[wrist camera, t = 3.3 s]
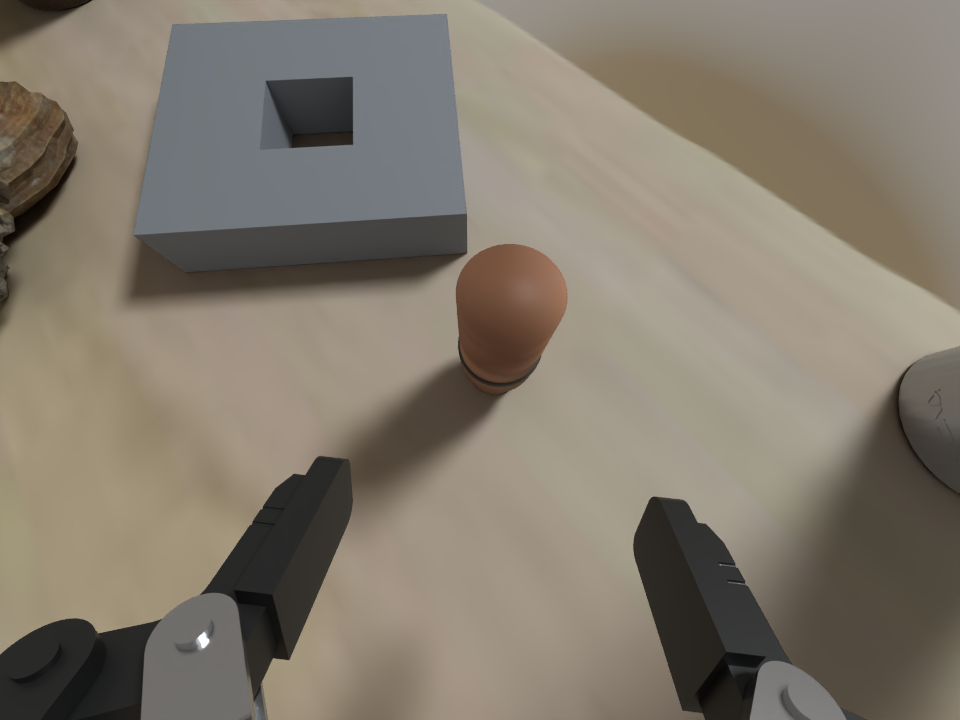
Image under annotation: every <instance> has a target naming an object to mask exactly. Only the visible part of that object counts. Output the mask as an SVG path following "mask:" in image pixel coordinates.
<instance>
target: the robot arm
mask: <svg viewBox="0 0 960 720" xmlns="http://www.w3.org/2000/svg"><path fill="white" fill-rule="evenodd" d="M899 412H900V418H901V421H902V425H903V428H904V431H905V434H906V436H907V438H908V440H909V442H910V444H911V446H912V447H913V449H914V451H915V452H916V453H917V455H918V456H919V458H920V459H921V460H922V462H923V463H924V464H925V466H926V467H927V468H928V469H929V470H930V471H931V472H932V473H933V474H934V475H935V476H936V477H937V478H938V479H939V480H941V481H942V482H943V483H945V484H946V485H947V486H949V487H950V488H951V489H953V490H954V491H955V492H957V493H959V494H960V346H959V347H955V348H951V349H947V350H944V351H940V352H937V353H934V354H931V355H927V356H925V357H923V358H922V359H920V360H919V361H917V362H916V363H914V364H913V365H912V367H911V368H910V369H909V370H908V371H907V373H906V374H905V376H904V379H903V381H902V383H901V386H900V393H899ZM352 503H353V498H352V485H351V473H350V463H349V460H348V459H341V458H333V457H324V456H319V457H317V458H316V459H315V461H314V462H313V464H312V465H311V467H310V469H309V470H308V472H307V473H306V475H298V474H293V475H292V476H291V477H289V478H288V479H287V480H286V481H284V482H283V483H282V484H280V485H279V486H278V487H276V488H275V490H274V491H273V493H272V494H271V495H270V497H269V498H268V500H267V501H266V503H265V504H264V506H263V509H262V510H260V511H259V513H258V514H257V516H256V517H255V519H254V520H253V523H252V525H250V526H249V527H248V529H247V530H246V532H245V533H244V535H243V536H242V537H241V539H240V540H239V542H238V543H237V545H236V546H235V548H234V549H233V550H232V552H231V553H230V555H229V556H228V558H227V559H226V561H225V562H224V564H223V565H222V566H221V568H220V569H219V571H218V572H217V574H216V575H215V577H214V578H213V579H212V581H211V582H210V584H209V585H208V586H207V588H206V589H205V590H204V591H203V592H202V593H201V594H200V595H199V596H196V597H193V598H191V599H189V600H187V601H185V602H183V603H182V604H180V605H178V606H177V607H176V608H174V609H173V610H172V611H170V612H169V613H168V614H167V615H166V616H165V617H164V618H163V619H161V620H158V621H155V622H151V623H146V624H142V625H137V626H132V627H127V628H122V629H118V630H113V631H108V632H103V633H97V631H96V630H95V628H94V627H93V625H92V624H91V623H89V622H88V621H86V620H83V619H65V620H60V621H57V622H53V623H50V624H48V625H45V626H43V627H41V628H39V629H37V630H35V631H33V632H31V633H29V634H28V635H26V636H24V637H23V638H21V639H20V640H18V641H17V642H15V643H14V644H13V645H11V646H10V647H9V648H8V649H6V650H5V651H4V652H3V653H2V654H1V655H0V720H268V715H267V709H266V702H265V696H264V690H263V683H262V681H263V678H264V676H265V674H266V672H267V670H268V668H269V665H270V663H271V661H272V659H273V658H276V659H284V660H290V657H291V655H292V653H293V650H294V648H295V646H296V643H297V641H298V639H299V636H300V634H301V632H302V629H303V627H304V625H305V622H306V620H307V618H308V615H309V613H310V611H311V608H312V606H313V604H314V601H315V599H316V597H317V594H318V592H319V590H320V587H321V585H322V583H323V580H324V578H325V576H326V573H327V571H328V569H329V566H330V564H331V562H332V559H333V557H334V555H335V553H336V550H337V548H338V546H339V543H340V541H341V539H342V536H343V534H344V532H345V529H346V527H347V525H348V522H349V519H350V515H351V511H352ZM633 548H634V556H635V561H636V564H637V567H638V570H639V573H640V577H641V580H642V583H643V586H644V589H645V592H646V596H647V599H648V602H649V605H650V608H651V612H652V615H653V618H654V621H655V624H656V627H657V631H658V634H659V637H660V640H661V643H662V647H663V650H664V653H665V656H666V659H667V662H668V666H669V669H670V672H671V675H672V678H673V682H674V685H675V688H676V691H677V694H678V697H679V701H680V704H681V707H682V710H683V711H691V712H699V713H703V715H704V718H705V720H866V719H864V718H862V717H860V716H857V715H855V714H853V713H851V712H848V711H846V710H844V709H842V708H841V707H839V706H838V704H837V703H836V702H835V700H834V699H833V698H832V696H831V695H830V694H829V693H828V692H827V691H826V690H825V689H824V688H823V687H822V686H821V684H819V683H818V682H817V681H816V680H815V679H814V678H812V677H811V676H810V675H808V674H807V673H806V672H804V671H802V670H801V669H799V668H797V667H795V666H793V665H792V664H791V662H790V660H789V659H788V657H787V656H786V654H785V652H784V650H783V648H782V647H781V645H780V643H779V641H778V639H777V638H776V636H775V634H774V632H773V630H772V629H771V627H770V625H769V623H768V621H767V620H766V618H765V616H764V614H763V612H762V611H761V609H760V607H759V605H758V603H757V602H756V600H755V598H754V596H753V594H752V593H751V591H750V589H749V587H748V586H746V585H745V580H744V578H743V576H742V575H741V573H740V571H739V569H738V568H736V567H735V562H734V560H733V558H732V557H731V555H730V553H729V551H728V549H727V548H726V546H725V544H724V542H723V541H722V540H721V539H720V538H719V537H718V536H717V535H716V534H715V533H714V532H713V531H712V530H711V529H710V528H709V527H708V526H707V525H706V524H702V523H697V521H696V519H695V517H694V515H693V513H692V511H691V509H690V507H689V505H688V504H687V503H686V502H685V501H684V500H680V499H671V498H663V497H652V498H651V499H650V500H649V502H648V505H647V507H646V509H645V512H644V514H643V516H642V519H641V521H640V523H639V526H638V528H637V531H636V533H635V536H634V544H633Z"/></svg>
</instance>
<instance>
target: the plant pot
mask: <svg viewBox="0 0 960 720" xmlns="http://www.w3.org/2000/svg"><path fill="white" fill-rule="evenodd" d="M20 1H21V2H23V3H25V4H26V5H28V6H31V7H33V8H37V9H40V10H63V9H68V8H72V7H76V6H78V5H81V4H83V3H85V2H87V1H89V0H20Z"/></svg>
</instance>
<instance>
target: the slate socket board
mask: <svg viewBox="0 0 960 720" xmlns="http://www.w3.org/2000/svg"><path fill="white" fill-rule="evenodd" d="M349 131H353V145H339V146H320V147H302V148H293V134H312V133H331V132H349ZM133 235H134V236H135V237H137V238H138V239H139V240H141V241H142V242H144V243H145V244H146V245H148V246H149V247H150V248H152V249H153V250H155V251H156V252H157V253H159V254H160V255H162V256H163V257H164V258H166V259H167V260H168V261H170V262H171V263H173V264H174V265H175V266H177V267H178V268H179V269H181V270H182V271H184V272H200V271H214V270H229V269H243V268H257V267H272V266H286V265H301V264H315V263H330V262H344V261H358V260H373V259H387V258H402V257H416V256H430V255H445V254H459V253H467V212H466V202H465V192H464V181H463V171H462V161H461V151H460V141H459V131H458V121H457V111H456V101H455V91H454V81H453V71H452V60H451V50H450V40H449V30H448V20H447V14H433V15H407V16H381V17H356V18H330V19H304V20H278V21H252V22H226V23H201V24H175V25H172V29H171V34H170V40H169V45H168V51H167V56H166V61H165V67H164V72H163V78H162V83H161V88H160V94H159V99H158V105H157V110H156V115H155V121H154V126H153V132H152V137H151V142H150V148H149V153H148V159H147V164H146V169H145V175H144V180H143V186H142V191H141V196H140V202H139V207H138V213H137V218H136V223H135V229H134V234H133Z"/></svg>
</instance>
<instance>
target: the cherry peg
mask: <svg viewBox="0 0 960 720" xmlns="http://www.w3.org/2000/svg"><path fill="white" fill-rule="evenodd" d="M456 303H457V316H458V329H459V340H458V349H459V356H460V359H461V363H462V366H463V369H464V371H465V373H466V375H467V376H468V378H469V379H470V380H471V381H472V382H473V383H474V385H475V386H476V387H477V388H478V389H480V390H481V391H483V392H486V393H489V394H502V393H505V392H507V391H509V390H512V389H514V388H516V387H518V386H520V385H521V384H522V383H523V382H524V381H525V380H526V379H527V378H528V377H529V376H530V374H531V373H532V372H533V371H534V369H535V368H536V366H537V365H538V363H539V361H540V358H541V355H542V353H543V351H544V349H545V347H546V346H547V344H548V342H549V340H550V339H551V337H552V335H553V333H554V332H555V330H556V328H557V326H558V325H559V323H560V321H561V319H562V317H563V315H564V313H565V310H566V305H567V288H566V284H565V281H564V278H563V276H562V274H561V272H560V270H559V269H558V268H557V266H556V265H555V264H554V263H553V262H552V261H551V260H550V259H549V258H548V257H547V256H545V255H544V254H542V253H541V252H539V251H537V250H535V249H532V248H530V247H527V246H522V245H516V244H504V245H497V246H493V247H490V248H487V249H485V250H483V251H481V252H479V253H478V254H476V255H475V256H474V257H473V258H471V259H470V260H469V261H468V263H467V264H466V265H465V266H464V268H463V269H462V271H461V273H460V275H459V278H458V281H457V286H456Z"/></svg>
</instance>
